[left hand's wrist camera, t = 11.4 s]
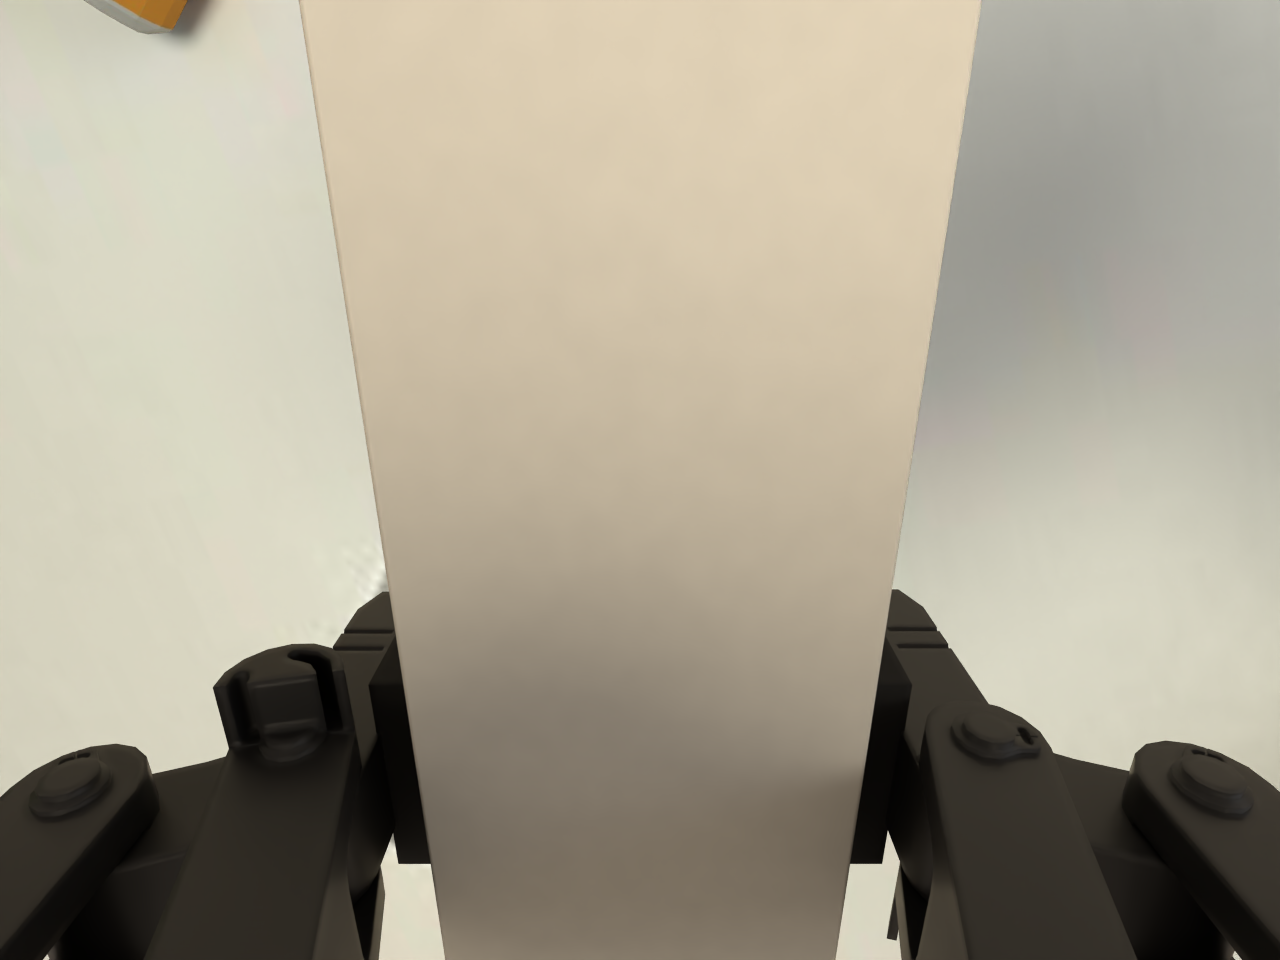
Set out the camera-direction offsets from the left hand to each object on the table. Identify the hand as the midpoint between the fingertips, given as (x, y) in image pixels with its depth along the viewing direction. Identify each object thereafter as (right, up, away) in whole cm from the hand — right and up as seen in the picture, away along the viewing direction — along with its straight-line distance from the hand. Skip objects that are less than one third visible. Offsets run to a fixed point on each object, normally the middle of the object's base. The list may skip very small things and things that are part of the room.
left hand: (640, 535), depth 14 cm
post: (0, -29, +13) cm, 32 cm away
